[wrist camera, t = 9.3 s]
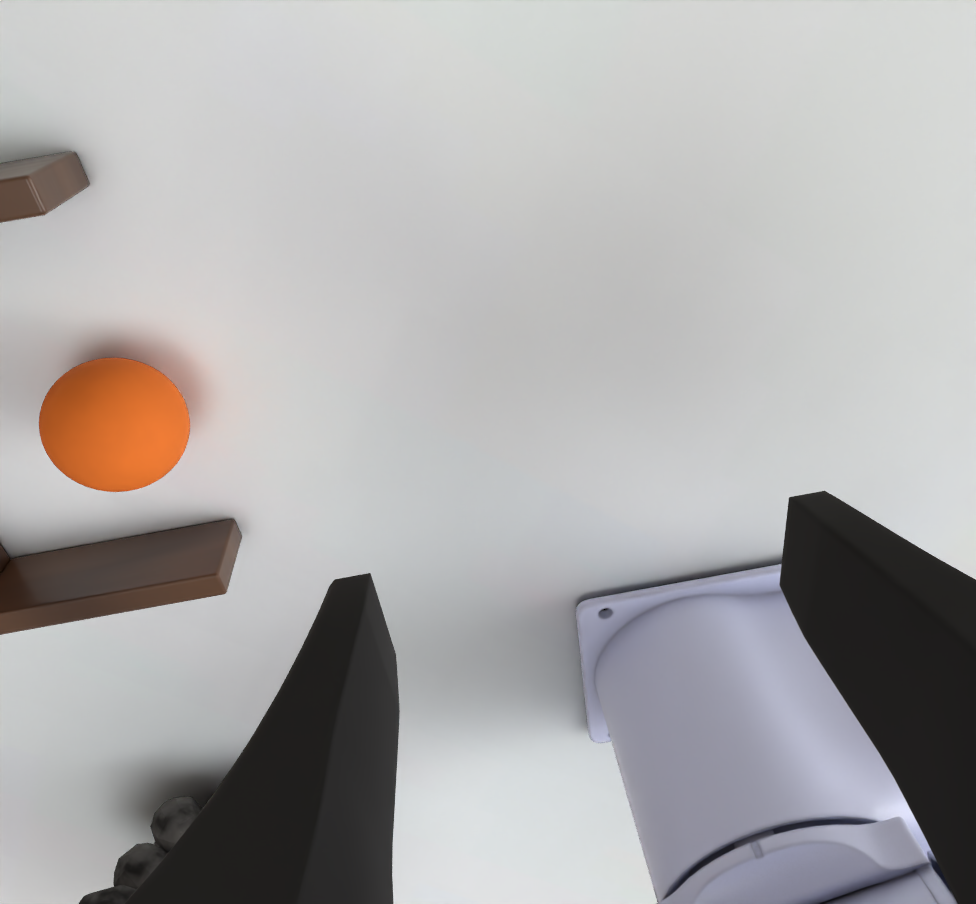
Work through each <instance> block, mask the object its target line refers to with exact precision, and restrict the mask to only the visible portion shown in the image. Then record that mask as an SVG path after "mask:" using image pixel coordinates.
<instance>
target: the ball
mask: <svg viewBox="0 0 976 904" xmlns="http://www.w3.org/2000/svg"><path fill="white" fill-rule="evenodd" d="M39 430H40V436H41V440H42V444H43V446H44V448H45V451H46V453H47V455H48V456H49V458H50V459H51V461H52V462H53V463H54V465H55V466H56V467H57V468H58V469H59V470H60V471H61V472H63V473H64V474H65V475H66V476H67V477H69V478H71V479H72V480H74V481H75V482H77V483H79V484H82V485H84V486H86V487H89V488H93V489H96V490H102V491H109V492H122V491H130V490H135V489H139V488H142V487H145V486H147V485H150V484H152V483H154V482H156V481H157V480H159V479H160V478H162V477H163V476H164V475H166V474H167V473H168V472H169V471H170V470H171V469H172V468H173V467H174V466H175V465H176V464H177V462H178V461H179V459H180V458H181V456H182V454H183V452H184V450H185V448H186V445H187V442H188V438H189V432H190V420H189V414H188V409H187V406H186V404H185V401H184V399H183V397H182V395H181V394H180V392H179V391H178V389H177V388H176V386H175V385H174V384H173V383H172V382H171V381H170V380H169V379H168V378H167V377H166V376H165V375H163V374H162V373H161V372H159V371H158V370H156V369H154V368H153V367H151V366H148V365H146V364H144V363H141V362H138V361H135V360H131V359H125V358H101V359H96V360H92V361H88V362H86V363H83V364H80V365H78V366H76V367H74V368H72V369H71V370H69V371H68V372H66V373H65V374H64V375H62V376H61V377H60V378H59V379H58V380H57V381H56V382H55V383H54V385H53V386H52V387H51V388H50V390H49V391H48V393H47V395H46V396H45V399H44V401H43V404H42V407H41V411H40V416H39Z"/></svg>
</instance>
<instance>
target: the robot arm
mask: <svg viewBox="0 0 976 904" xmlns="http://www.w3.org/2000/svg"><path fill="white" fill-rule="evenodd" d="M605 608H608V609H607V610H604V611H601V610H602V609H605ZM576 620H577V629H578V639H579V648H580V658H581V668H582V677H583V687H584V696H585V706H586V715H587V725H588V732H589V736H590V739H591V740H592V741H593V742H596V743H605V742H610V741H612V745H613V748H614V752H615V755H616V759H617V762H618V766H619V769H620V773H621V776H622V780H623V783H624V787H625V790H626V794H627V797H628V801H629V804H630V808H631V811H632V815H633V818H634V822H635V825H636V829H637V832H638V836H639V839H640V843H641V846H642V850H643V853H644V856H645V860H646V863H647V867H648V870H649V874H650V877H651V881H652V884H653V888H654V891H655V895H656V898H657V902H658V903H657V904H976V580H975V579H973V578H972V577H970V576H968V575H966V574H964V573H963V572H961V571H959V570H957V569H955V568H954V567H952V566H950V565H948V564H946V563H945V562H943V561H941V560H939V559H938V558H936V557H934V556H932V555H931V554H929V553H927V552H926V551H924V550H922V549H921V548H919V547H917V546H915V545H914V544H912V543H910V542H909V541H907V540H905V539H904V538H902V537H900V536H899V535H897V534H895V533H894V532H892V531H891V530H889V529H887V528H886V527H884V526H882V525H881V524H879V523H877V522H876V521H874V520H872V519H871V518H869V517H868V516H866V515H864V514H863V513H861V512H859V511H858V510H856V509H854V508H853V507H851V506H850V505H848V504H846V503H845V502H843V501H841V500H839V499H838V498H836V497H834V496H833V495H831V494H829V493H827V492H825V491H821V492H816V493H810V494H805V495H799V496H794V497H789V503H788V512H787V521H786V530H785V539H784V548H783V557H782V564H778V565H773V566H767V567H762V568H756V569H751V570H746V571H740V572H735V573H729V574H724V575H718V576H713V577H707V578H702V579H696V580H691V581H685V582H680V583H674V584H669V585H663V586H658V587H652V588H647V589H641V590H636V591H630V592H625V593H619V594H614V595H608V596H603V597H597V598H592V599H587V600H584V601H582V602H581V603H579V605H578V606H577V607H576ZM398 732H399V694H398V677H397V662H396V653H395V650H394V647H393V644H392V641H391V637H390V634H389V631H388V628H387V625H386V621H385V618H384V615H383V612H382V609H381V606H380V602H379V599H378V596H377V593H376V590H375V586H374V583H373V580H372V577H371V574H370V573H368V574H363V575H357V576H352V577H346V578H341V579H335V580H334V581H333V582H332V584H331V585H330V587H329V589H328V591H327V594H326V596H325V598H324V601H323V603H322V605H321V608H320V610H319V612H318V614H317V616H316V619H315V621H314V623H313V625H312V627H311V629H310V631H309V634H308V636H307V638H306V640H305V642H304V644H303V646H302V648H301V650H300V652H299V654H298V656H297V658H296V660H295V662H294V663H293V665H292V667H291V669H290V671H289V673H288V675H287V677H286V679H285V681H284V683H283V684H282V686H281V688H280V690H279V692H278V694H277V695H276V697H275V699H274V700H273V702H272V704H271V705H270V707H269V709H268V711H267V712H266V714H265V716H264V717H263V719H262V721H261V722H260V724H259V726H258V728H257V729H256V731H255V733H254V734H253V736H252V737H251V739H250V741H249V742H248V744H247V745H246V747H245V748H244V750H243V752H242V753H241V755H240V756H239V758H238V759H237V761H236V762H235V764H234V765H233V767H232V768H231V770H230V771H229V772H228V774H227V775H226V777H225V778H224V780H223V781H222V783H221V784H220V785H219V787H218V788H217V790H216V791H215V793H214V794H213V795H212V797H211V798H210V799H209V801H208V802H207V803H206V805H205V806H204V807H203V809H202V810H201V811H200V813H199V814H198V815H197V816H196V818H195V819H194V820H193V822H192V823H191V824H190V826H189V827H188V828H187V830H186V831H185V832H184V834H183V835H182V836H181V837H180V839H179V840H178V841H177V842H176V844H175V845H174V846H173V847H172V849H171V850H170V851H169V852H168V854H167V855H166V856H165V857H164V858H163V860H162V861H161V862H160V863H159V864H158V865H157V867H156V868H155V869H154V870H153V871H152V872H151V873H150V875H149V876H148V877H147V878H146V879H145V880H144V881H143V883H142V884H141V885H140V886H139V887H138V888H137V889H136V891H135V892H134V893H133V894H132V895H131V896H130V897H129V899H128V900H127V901H126V902H125V903H124V904H393V885H392V842H393V824H394V806H395V788H396V770H397V752H398Z"/></svg>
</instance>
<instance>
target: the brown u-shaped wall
mask: <svg viewBox="0 0 976 904" xmlns="http://www.w3.org/2000/svg"><path fill="white" fill-rule="evenodd" d="M88 186H89V182H88V179H87V177H86V175H85V172H84V170H83V168H82V165H81V163H80V161H79V158H78V156H77V154H76V153H75V152H71V151H70V152H64V153H59V154H53V155H47V156H41V157H35V158H29V159H24V160H18V161H12V162H6V163H0V223H2V222H7V221H13V220H19V219H25V218H31V217H36V216H42V215H45V214H47V213H49V212H50V211H52V210H53V209H55V208H56V207H58V206H59V205H61V204H62V203H64V202H65V201H67V200H68V199H70V198H72V197H73V196H75V195H76V194H78V193H79V192H81V191H82V190H84V189H85V188H87V187H88ZM241 539H242V536H241V534H240V531H239V529H238V527H237V524H236V522H235V520H234V519H230V520H224V521H219V522H213V523H208V524H202V525H196V526H191V527H185V528H180V529H174V530H169V531H163V532H157V533H152V534H146V535H141V536H135V537H130V538H124V539H118V540H113V541H107V542H102V543H96V544H91V545H85V546H79V547H74V548H68V549H63V550H57V551H52V552H46V553H40V554H35V555H29V556H24V557H18V558H13V559H10V558H9V556H8V555H7V553H6V552H5V551H4V549H3V548H2V546H1V545H0V635H1V634H7V633H12V632H18V631H23V630H29V629H34V628H40V627H45V626H51V625H56V624H62V623H68V622H73V621H79V620H84V619H90V618H95V617H101V616H106V615H112V614H117V613H123V612H128V611H134V610H139V609H145V608H150V607H156V606H162V605H167V604H173V603H178V602H184V601H189V600H195V599H200V598H206V597H211V596H217V595H222V594H225V593H226V592H227V589H228V585H229V582H230V578H231V575H232V571H233V567H234V564H235V560H236V557H237V553H238V549H239V546H240V542H241Z"/></svg>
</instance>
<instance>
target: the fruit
mask: <svg viewBox="0 0 976 904" xmlns="http://www.w3.org/2000/svg"><path fill="white" fill-rule="evenodd" d="M202 809H203V808H202V807H201V806H200V805H199V804H198V803H197V802H196V801H195V800H194V799H193V798H192V797H185V796H183V797H177V798H173V799H170V800H167V801H166V802H165V803H164V804H163V805H162V806H161V807H160V808H159V809H158V810H157V811H156V812H155V814H154V817H153V820H152V823H151V826H150V827H151V830H152V833H153V836H154V839H155V843H154V844H150V843H142V844H136V845H135V846H134V847H133V848H131V849H130V850H129V851H128V852H126V853H125V854H124V855H123V856H121V857H120V858H119V859H118V862H117V865H116V869H115V872H114V887H111V888H108V889H104V890H101V891H97V892H93V893H90V894H88V895H86V896H84V897H83V898H82V900H81V901H80V902H79V904H124V903H125V902H126V901H127V900H128V899H129V897H130V896H131V895H132V894H133V893H134V892H135V891H136V889H137V888H138V887H139V886H140V885H141V884H142V883H143V881H144V880H145V879H146V878H147V877H148V876H149V875H150V873H151V872H152V871H153V870H154V869H155V868H156V867H157V865H158V864H159V863H160V862H161V861H162V860H163V858H164V857H165V856H166V855H167V854H168V852H169V851H170V850H171V849H172V847H173V846H174V845H175V844H176V842H177V841H178V840H179V839H180V837H181V836H182V835H183V834H184V832H185V831H186V830H187V828H188V827H189V826H190V824H191V823H192V822H193V820H194V819H195V818H196V816H197V815H198V814H199V813H200V811H201V810H202Z"/></svg>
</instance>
